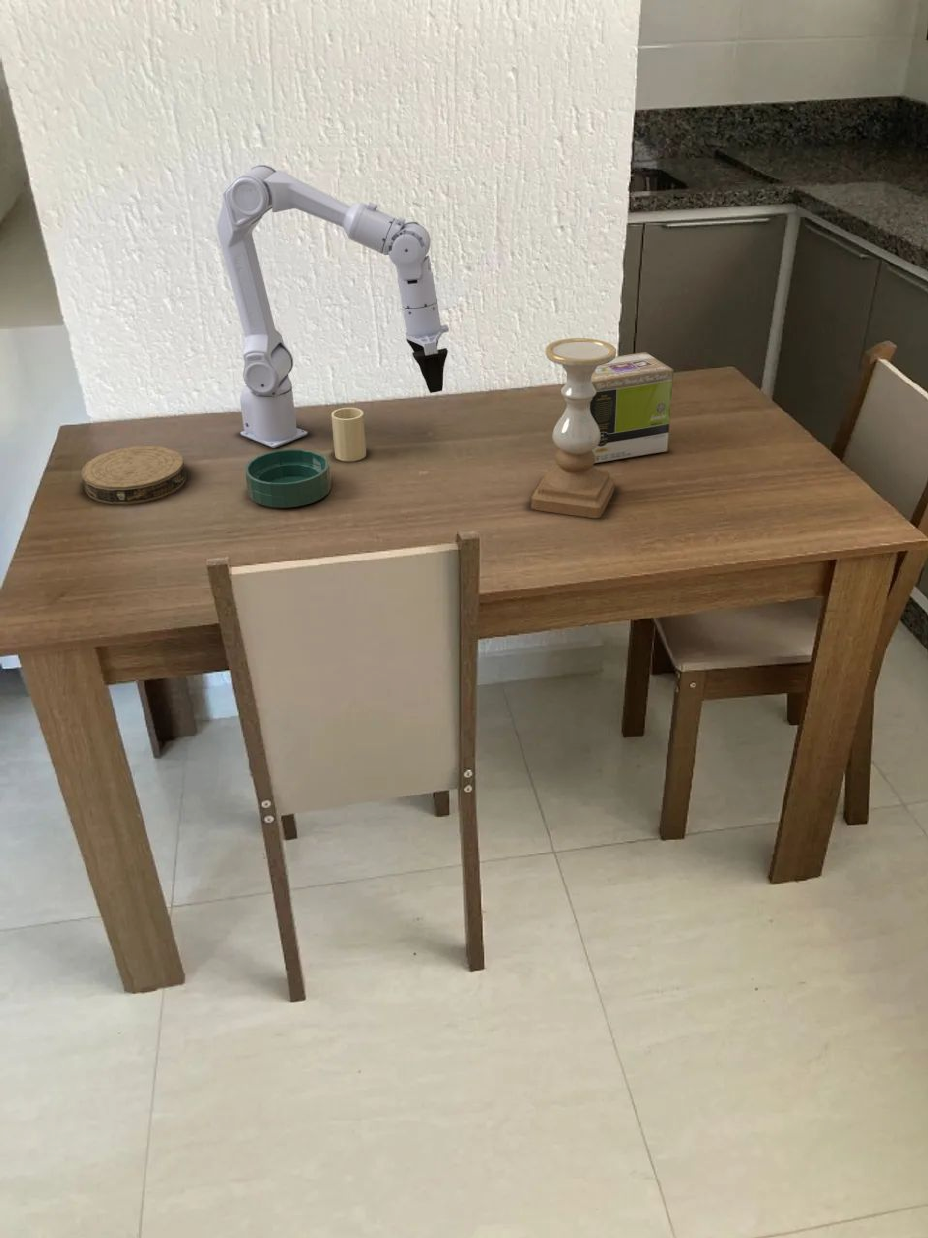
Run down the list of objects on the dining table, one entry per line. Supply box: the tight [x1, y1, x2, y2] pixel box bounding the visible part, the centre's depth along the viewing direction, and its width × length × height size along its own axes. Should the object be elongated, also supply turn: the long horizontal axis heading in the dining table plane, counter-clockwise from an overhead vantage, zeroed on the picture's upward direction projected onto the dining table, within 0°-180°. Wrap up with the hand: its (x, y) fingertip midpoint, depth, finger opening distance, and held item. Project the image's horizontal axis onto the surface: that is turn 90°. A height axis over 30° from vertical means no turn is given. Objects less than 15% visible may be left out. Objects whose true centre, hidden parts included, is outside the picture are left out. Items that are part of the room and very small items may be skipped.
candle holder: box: [530, 337, 617, 519], centre depth 153 cm, size 11×11×24 cm
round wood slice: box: [81, 445, 187, 505], centre depth 166 cm, size 16×16×3 cm
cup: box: [331, 407, 367, 462], centre depth 172 cm, size 5×5×8 cm
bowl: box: [244, 448, 332, 509], centre depth 162 cm, size 13×13×4 cm
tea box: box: [565, 351, 674, 464], centre depth 171 cm, size 15×10×15 cm, turn 108°
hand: (432, 384), depth 172 cm, fingers open, 7 cm apart
